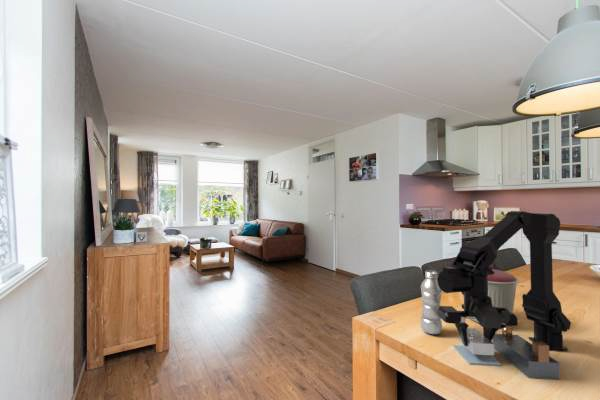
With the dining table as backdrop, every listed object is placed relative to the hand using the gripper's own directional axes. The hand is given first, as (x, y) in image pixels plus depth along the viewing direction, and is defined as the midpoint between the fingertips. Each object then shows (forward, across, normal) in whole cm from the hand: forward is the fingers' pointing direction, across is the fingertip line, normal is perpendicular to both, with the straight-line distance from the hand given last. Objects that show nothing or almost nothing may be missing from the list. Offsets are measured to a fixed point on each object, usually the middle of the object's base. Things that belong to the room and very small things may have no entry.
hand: (475, 345), depth 76 cm
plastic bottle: (+3, -7, +13) cm, 15 cm away
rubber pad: (+3, 0, 0) cm, 3 cm away
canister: (+3, +17, +24) cm, 29 cm away
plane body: (+3, +11, -2) cm, 11 cm away
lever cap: (0, 0, 0) cm, 0 cm away
